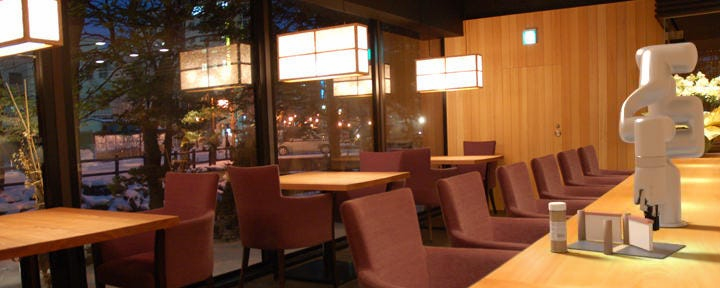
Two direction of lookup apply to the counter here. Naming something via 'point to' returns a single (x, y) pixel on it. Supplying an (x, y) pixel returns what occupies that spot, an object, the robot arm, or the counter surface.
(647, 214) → the robot arm
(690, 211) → the counter surface
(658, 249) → the card
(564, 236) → the sprinkles bottle
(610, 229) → the fence fixed
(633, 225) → the fence gate
